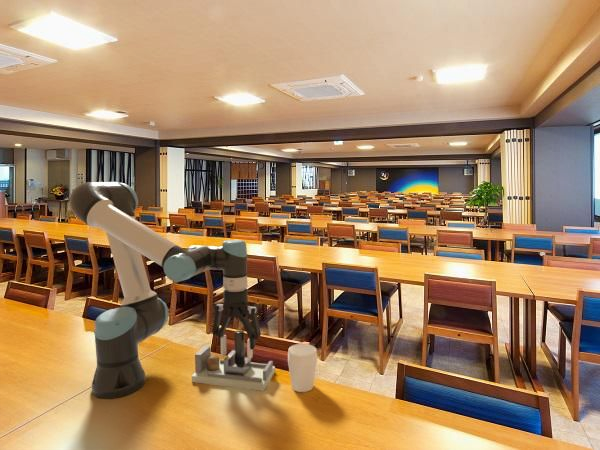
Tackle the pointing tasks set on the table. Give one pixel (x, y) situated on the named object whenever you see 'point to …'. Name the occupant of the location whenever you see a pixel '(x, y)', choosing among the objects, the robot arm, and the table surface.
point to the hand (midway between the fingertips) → (236, 356)
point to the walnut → (213, 362)
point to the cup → (302, 366)
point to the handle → (237, 357)
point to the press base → (252, 379)
